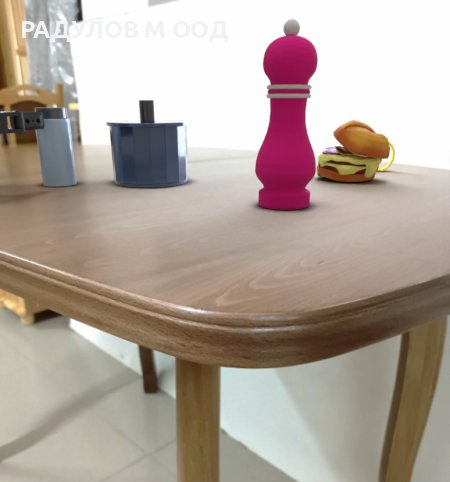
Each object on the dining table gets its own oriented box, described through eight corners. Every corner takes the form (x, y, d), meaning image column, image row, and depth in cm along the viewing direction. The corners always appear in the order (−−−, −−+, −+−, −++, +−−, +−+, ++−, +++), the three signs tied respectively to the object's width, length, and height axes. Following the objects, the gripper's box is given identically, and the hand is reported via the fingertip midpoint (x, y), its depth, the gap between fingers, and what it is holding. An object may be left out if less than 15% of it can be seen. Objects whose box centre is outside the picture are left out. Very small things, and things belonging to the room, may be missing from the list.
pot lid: (89, 130, 71) (86, 100, 70) (137, 126, 82) (136, 100, 80) (161, 132, 67) (160, 99, 65) (203, 128, 77) (202, 100, 75)
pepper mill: (323, 203, 61) (336, 20, 53) (296, 213, 55) (308, 11, 48) (272, 197, 65) (278, 26, 57) (243, 206, 59) (245, 17, 51)
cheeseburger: (329, 172, 87) (347, 114, 82) (384, 192, 82) (407, 132, 77) (301, 177, 79) (320, 114, 74) (360, 200, 74) (384, 134, 70)
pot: (99, 184, 75) (94, 125, 71) (141, 175, 84) (138, 123, 81) (163, 189, 70) (160, 127, 67) (200, 179, 80) (199, 124, 77)
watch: (358, 171, 89) (362, 136, 87) (358, 169, 92) (361, 135, 89) (393, 172, 88) (397, 137, 86) (391, 170, 90) (395, 136, 88)
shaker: (35, 185, 74) (24, 107, 70) (59, 180, 78) (49, 107, 74) (61, 187, 72) (51, 107, 68) (83, 183, 76) (75, 107, 72)
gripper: (-79, 87, 51) (52, 90, 63) (-138, 89, 58) (-11, 90, 70) (-63, 162, 53) (59, 150, 66) (-121, 154, 61) (-2, 145, 73)
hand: (23, 119), depth 68 cm, fingers open, 8 cm apart
